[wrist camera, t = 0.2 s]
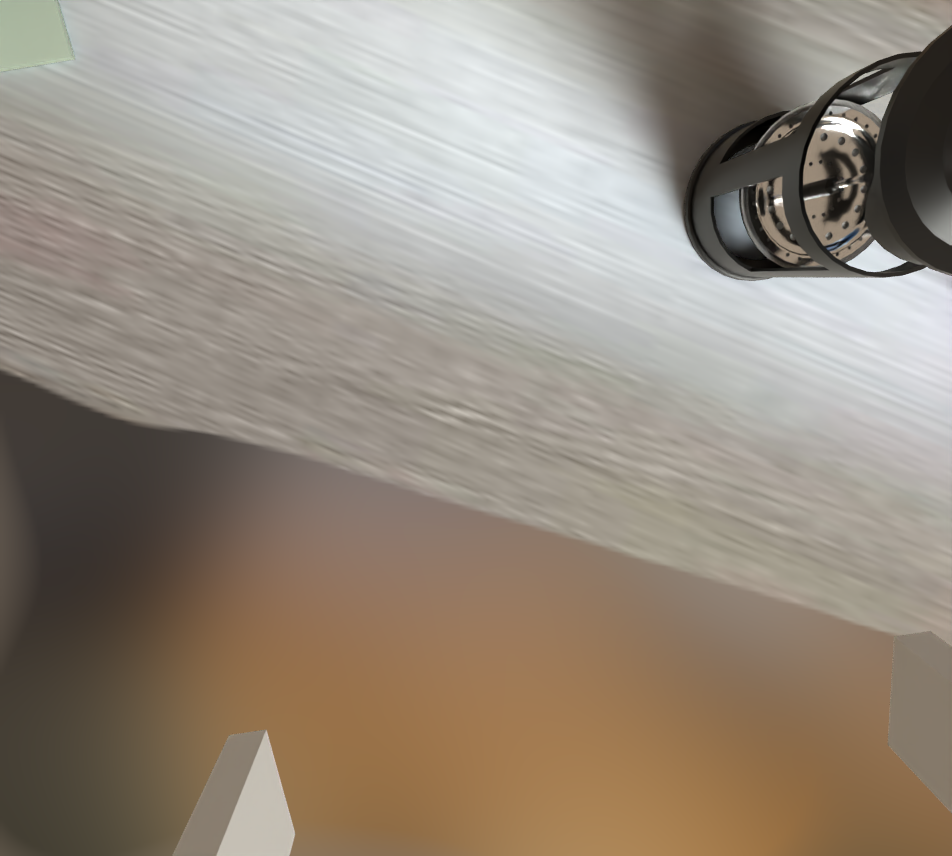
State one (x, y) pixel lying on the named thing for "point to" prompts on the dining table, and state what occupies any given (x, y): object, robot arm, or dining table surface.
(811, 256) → the french press
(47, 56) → the mat stand
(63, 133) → the dining table surface
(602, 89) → the dining table surface
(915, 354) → the dining table surface
